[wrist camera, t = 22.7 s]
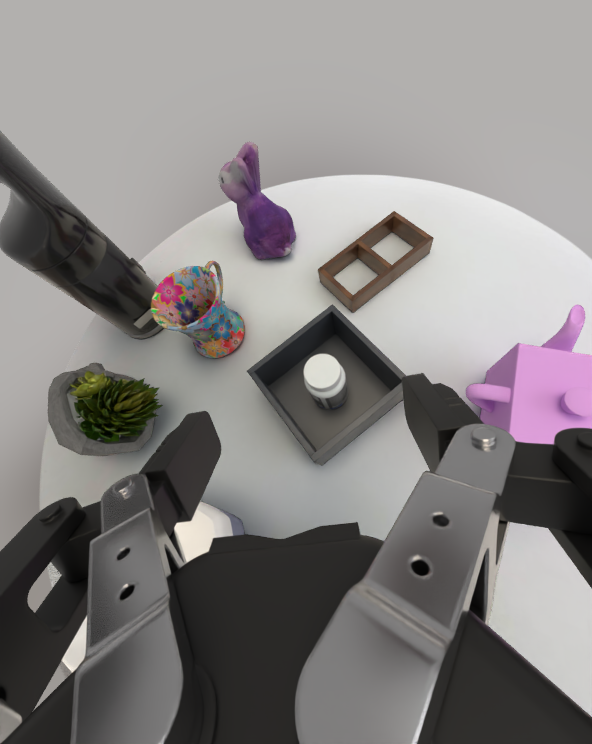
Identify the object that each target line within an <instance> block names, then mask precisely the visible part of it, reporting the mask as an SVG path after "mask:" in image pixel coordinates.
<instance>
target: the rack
mask: <svg viewBox="0 0 592 744" xmlns="http://www.w3.org/2000/svg"><path fill="white" fill-rule="evenodd" d="M391 232H394V233H395V234H396V235H398V236H399V237H401V238H402V239H403V240H405V241H406V242H407V243H409V244H410V245H412V246H413V247H414V248H413V249H412V250H411V251H410V252H408V253H407V254H406V255H404V256H403V257H402V258H401V259H399V260H398V261H397V262H395V263H394V264H393V265H391V264H389V263H388V262H387V261H386V260H384V259H383V258H382V257H381V256H379V255H378V254H377V253H375V252H374V251H373V250H372V249H370V248H371V247H372V246H374V245H375V244H376V243H378V242H379V241H380V240H381V239H383V238H384V237H385V236H387V235H388V234H389V233H391ZM432 242H433V237H431V236H430V235H428V234H427V233H426V232H424V231H423V230H421V229H420V228H418V227H417V226H415V225H414V224H412V223H411V222H409V221H408V220H407V219H405V218H404V217H402V216H401V215H399V214H398V213H396V212H395V211H393V212H392V213H391V214H390V215H388V216H387V217H386V218H384V219H383V220H382V221H381V222H379V223H378V224H377V225H375V226H374V227H373V228H371V229H370V230H369V231H367V232H366V233H365V234H364V235H362V236H361V237H360V238H358V239H357V240H356V241H354V242H353V243H352V244H350V245H349V246H348V247H347V248H345V249H344V250H343V251H341V252H340V253H339V254H337V255H336V256H335V257H334V258H332V259H331V260H330V261H328V262H327V263H326V264H324V265H323V266H322V267H320V268H319V269H318V273H319V278H320V282H321V283H322V284H323V285H324V286H325V287H326V288H327V289H328V290H329V291H330V292H331V293H332V294H333V295H334V296H336V297H337V298H338V299H339V300H340V301H341V302H342V303H343V304H344V305H345V306H346V307H347V308H348V309H349V310H350V311H351V312H352V313H353V312H355V311H356V310H357V309H358V308H360V307H361V306H362V305H364V304H365V303H366V302H367V301H369V300H370V299H371V298H372V297H374V296H375V295H376V294H378V293H379V292H380V291H381V290H383V289H384V288H385V287H387V286H388V285H389V284H390V283H392V282H393V281H394V280H395V279H397V278H398V277H399V276H401V275H402V274H403V273H404V272H406V271H407V270H408V269H409V268H411V267H412V266H413V265H415V264H416V263H417V262H418V261H420V260H421V259H422V258H423V257H425V256H426V255H427V254H429V252H430V249H431V245H432ZM357 258H359V259H360V260H361V261H362V262H364V263H365V264H366V265H367V266H369V267H370V268H371V269H372V270H373V271H375V272H376V273H377V274H378V275H379V276H377V277H376V278H375V279H374V280H372V281H371V282H370V283H368V284H367V285H366V286H365V287H363V288H362V289H361V290H360V291H358V292H357V293H356V294H354V295H352V294H351V293H349V292H348V291H347V290H346V289H345V288H344V287H343V286H342V285H341V284H340V283H339V282H337V281H336V280H335V279H334V278H333V276H335V275H336V274H337V273H339V272H340V271H341V270H343V269H344V268H345V267H346V266H348V265H349V264H350V263H352V262H353V261H354V260H356V259H357Z"/></svg>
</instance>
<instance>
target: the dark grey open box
mask: <svg viewBox="0 0 592 744" xmlns="http://www.w3.org/2000/svg"><path fill="white" fill-rule="evenodd" d="M317 354H328V355H331V356H333V357H334V358H335V359H336V360H337V361H338V363H339V364H340V365H341V366H342V368H343V369H344V372H345V375H346V382H347V387H348V396H347V399H346V401H345V402H344V403H343V405H341V406H340V407H338V408H336V409H324V408H321V407H320V406H318V405H317V404H316V403H315V401H314V400H313V398H312V396H311V395H310V393H309V391H308V390H307V388H306V386H305V382H304V367H305V364H306V363H307V361H308V360H309V359H310V358H311V357H313V356H315V355H317ZM247 372H248V373H249V375H250V376H251V377H252V379H253V380H254V381H255V383H256V384H257V386H258V387H259V388H260V390H261V391H262V392H263V394H264V395H265V396H266V398H267V399H268V400H269V402H270V403H271V404H272V406H273V407H274V409H275V410H276V411H277V413H278V414H279V415H280V417H281V418H282V419H283V421H284V422H285V423H286V425H287V426H288V427H289V429H290V430H291V431H292V433H293V434H294V436H295V437H296V438H297V440H298V441H299V442H300V444H301V445H302V446H303V448H304V449H305V450H306V452H307V453H308V454H309V456H310V457H311V459H312V460H313V461H314V462H315V463H317V464H320V465H323V464H325V463H326V462H327V461H328V460H330V459H331V458H332V457H333V456H334V455H336V454H337V453H338V452H339V451H341V450H342V449H343V448H344V447H345V446H347V445H348V444H349V443H350V442H352V441H353V440H354V439H355V438H356V437H358V436H359V435H360V434H361V433H363V432H364V431H365V430H366V429H367V428H369V427H370V426H371V425H372V424H374V423H375V422H376V421H377V420H378V419H380V418H381V417H382V416H383V415H385V414H386V413H387V412H388V411H389V410H391V409H392V408H393V407H394V406H396V405H397V404H398V403H399V402H400V401H402V400H403V399H404V398H403V388H402V377H404V376H406V375H405V374H404V373H403V372H402V371H401V370H400V369H398V368H397V367H396V366H395V365H394V364H393V363H392V362H391V361H390V360H389V359H388V358H387V357H386V356H385V355H384V354H383V353H382V352H381V351H380V350H379V349H378V348H377V347H376V346H375V345H374V344H373V343H372V342H371V341H370V340H369V339H368V338H366V337H365V336H364V335H363V334H362V333H361V332H360V331H359V330H358V329H357V328H356V327H355V326H354V325H353V324H352V323H351V322H350V321H349V320H348V319H347V318H346V317H345V316H344V315H343V314H342V313H341V312H340V311H339V310H338V309H337V308H336V307H335V306H333V305H331V306H330V307H328V308H327V309H326V310H325V311H323V312H322V313H321V314H319V315H318V316H317V317H316V318H314V319H313V320H312V321H310V322H309V323H308V324H307V325H305V326H304V327H303V328H301V329H300V330H299V331H298V332H296V333H295V334H294V335H292V336H291V337H290V338H289V339H287V340H286V341H285V342H283V343H282V344H281V345H280V346H278V347H277V348H276V349H274V350H273V351H272V352H271V353H269V354H268V355H267V356H265V357H264V358H263V359H262V360H260V361H259V362H258V363H256V364H255V365H254V366H253V367H251V368H250V369H249V370H247Z"/></svg>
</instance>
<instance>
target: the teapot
mask: <svg viewBox="0 0 592 744" xmlns="http://www.w3.org/2000/svg"><path fill="white" fill-rule="evenodd" d="M584 321H585V311H584V308H583V307H582V306H581V305H575V306H574V307H573V308H572V309H571V311H570V313H569V315H568V318H567V320H566V322H565V324H564V325H563V327H562V328H561V329H560V330H559V332H558V333H557V334H556V335H554V336H553V337H552V338H551V339H550V340H548V341H547V342H546V343H545V344H543V345H542V346H541V347H538V346H532V345H526V344H521V343H518V344H517V345H516V346H514V347H513V348H512V349H511V350H510V351H509V352H508V353H507V354H506V355H504V356H503V357H502V358H501V359H500V360H499V361H498V362H497V363H496V364H495V365H493V366H492V367H491V368H490V369H489V370H488V371H487V373H486V380H485V384H471V385H469V386H468V387H467V388H466V396H467V397H468V399H469V400H470V401H471V402H472V403H474V404H475V405H477V406H479V407H480V408H481V415H480V420H481V421H482V422H483V423H484V424H487V425H492V426H496V427H499V428H501V429H504V430H505V431H507V432H508V433H510V434H511V435H512V436H513V438H514V439H515V441H518V442H525V443H539V444H554V438H555V435H556V434H557V433H558V432H560V431H562V430H565V429H569V428H590V429H592V356H591V355H586V354H580V353H574V352H572V349H573V347H574V345H575V343H576V341H577V338H578V336H579V334H580V332H581V330H582V327H583V324H584Z"/></svg>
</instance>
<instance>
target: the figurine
mask: <svg viewBox="0 0 592 744" xmlns="http://www.w3.org/2000/svg"><path fill="white" fill-rule="evenodd" d="M219 182H220V187H221V189H222V190H223V192H224V193H225V194H226V195H227V196H228V198H230V199H231V200H232V201H233V202H235V203H237V211H238V216H239V219H240V221H241V223H242V225H243V226H244V238H245V241H246V243H247V245H248V247H249V248H250V249H251V251H252V253H253V254H254V256H255V257H256V258H257V259H260V260H262V259H266V258H276V257H281V256H286V255H288V254H289V253H290V252H291V250H292V248H291V243H292V242H293V241H294V240H295V238H296V233H295V230H294V226H293V221H292V218H291V216H290V214H289V213H288V212H287V210H286V209H284V208H282V207H280V206H278V205H276V204H274V203H273V202H272V201H271V200H269V199H268V198H267V197H266V196H265V195H264V194H263V193H261V188H260V173H259V158H258V147H257V145H256V144H254V143H252V142H247V143H245V144H244V145H243V146H242V148H241V149H240V151H239V153H238V155H237V157H236V158H234V159H233V160H232V161H230V162H228V163H227V164H225V165H224V166H223V168H222V169H221V171H220V174H219Z"/></svg>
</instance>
